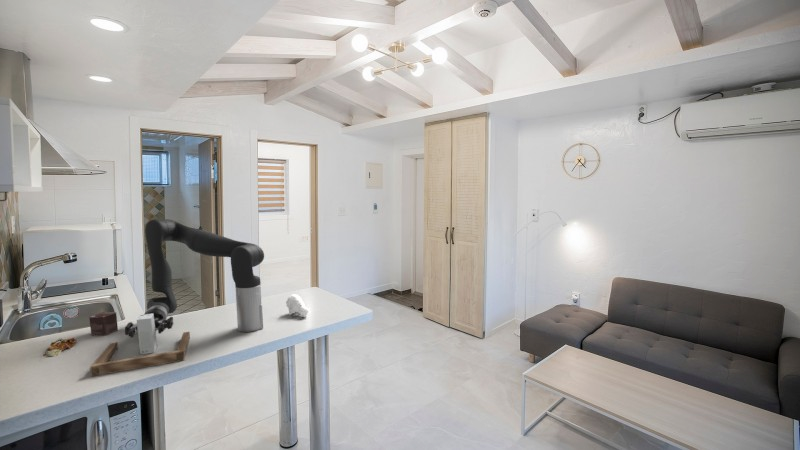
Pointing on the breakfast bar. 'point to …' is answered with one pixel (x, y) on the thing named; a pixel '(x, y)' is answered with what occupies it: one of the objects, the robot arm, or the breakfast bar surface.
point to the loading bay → (137, 358)
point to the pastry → (59, 346)
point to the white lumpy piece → (296, 305)
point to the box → (103, 323)
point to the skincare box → (146, 333)
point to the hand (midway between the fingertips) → (145, 332)
